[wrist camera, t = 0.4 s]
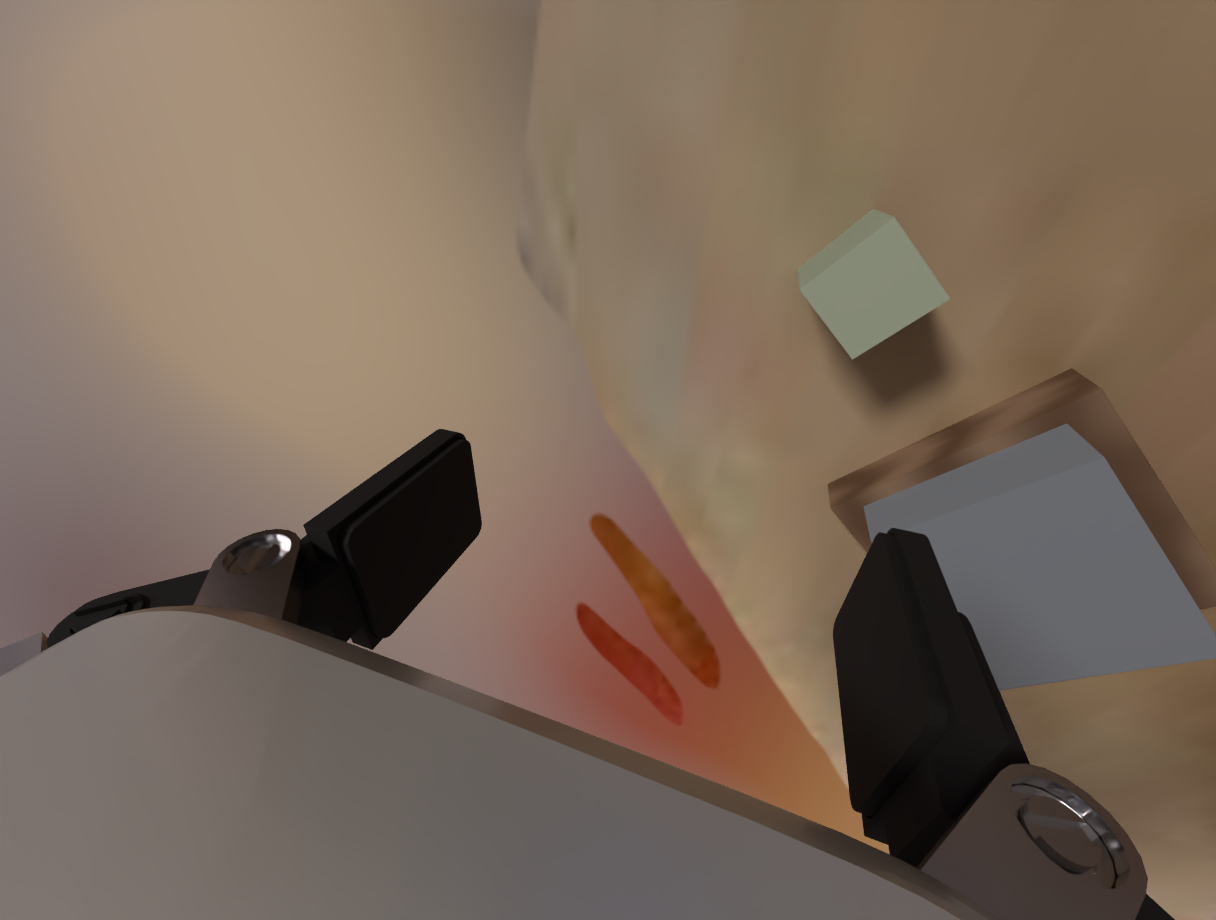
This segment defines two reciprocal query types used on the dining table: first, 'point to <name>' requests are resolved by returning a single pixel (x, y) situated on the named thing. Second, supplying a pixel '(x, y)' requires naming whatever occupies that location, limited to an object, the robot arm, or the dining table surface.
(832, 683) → the dining table surface
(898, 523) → the top block
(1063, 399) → the base block
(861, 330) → the sage block
